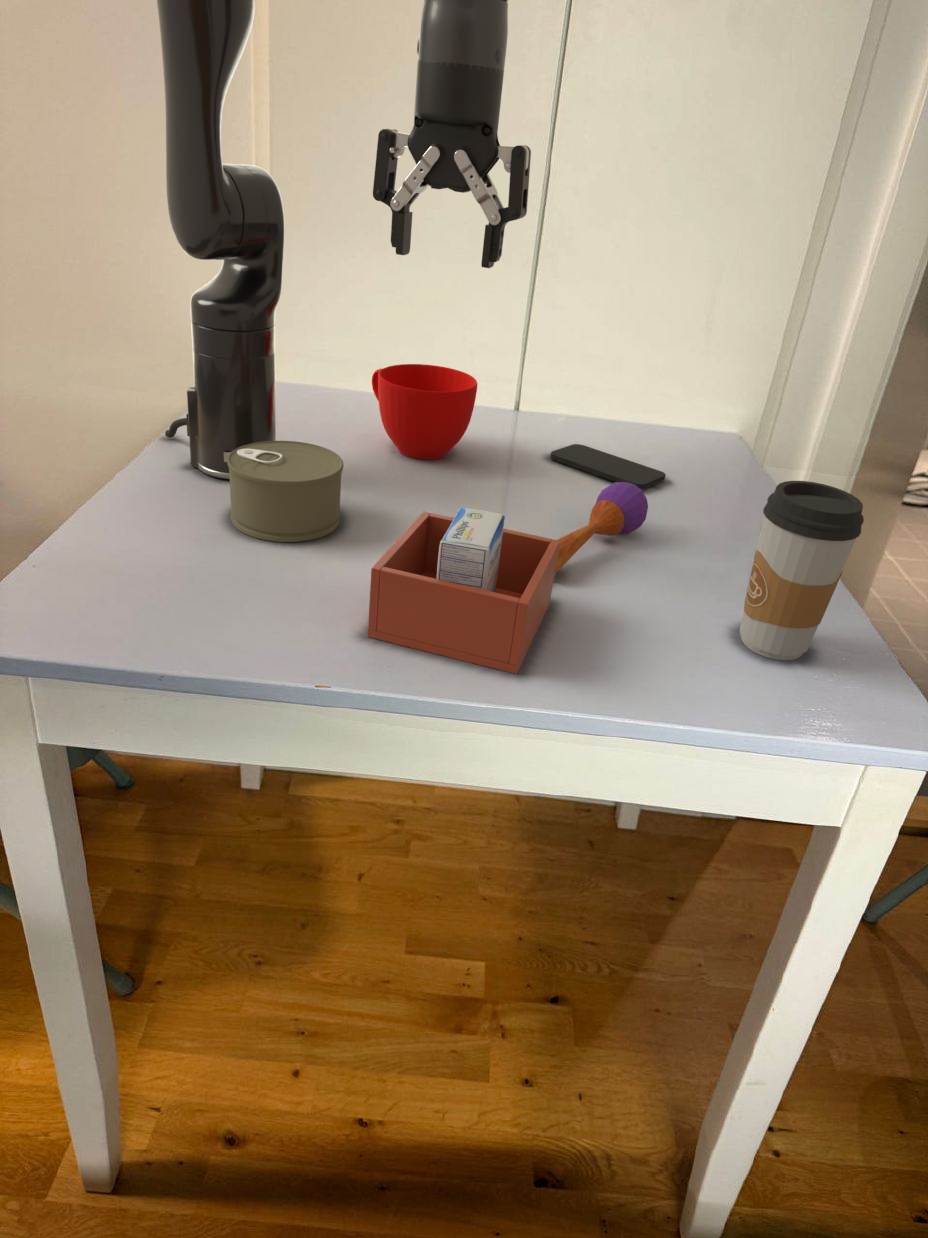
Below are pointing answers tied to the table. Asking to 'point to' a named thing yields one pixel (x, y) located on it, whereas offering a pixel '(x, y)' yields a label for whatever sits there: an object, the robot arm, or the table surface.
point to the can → (285, 490)
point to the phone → (607, 465)
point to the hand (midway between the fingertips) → (444, 260)
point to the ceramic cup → (424, 407)
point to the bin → (461, 597)
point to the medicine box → (472, 549)
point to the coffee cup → (797, 566)
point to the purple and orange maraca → (607, 518)
